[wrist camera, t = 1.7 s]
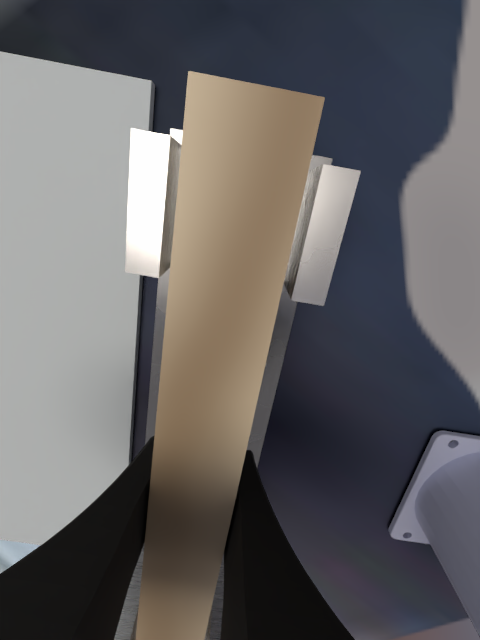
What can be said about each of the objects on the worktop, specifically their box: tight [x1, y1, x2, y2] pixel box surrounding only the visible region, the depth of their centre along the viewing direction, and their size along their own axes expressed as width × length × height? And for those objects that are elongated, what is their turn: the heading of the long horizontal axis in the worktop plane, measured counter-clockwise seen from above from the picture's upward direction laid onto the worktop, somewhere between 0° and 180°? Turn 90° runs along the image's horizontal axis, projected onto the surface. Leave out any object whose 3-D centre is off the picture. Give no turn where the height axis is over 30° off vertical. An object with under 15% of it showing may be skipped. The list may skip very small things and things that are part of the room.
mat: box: [0, 52, 155, 545], centre depth 16 cm, size 10×26×1 cm, turn 170°
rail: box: [136, 71, 325, 640], centre depth 11 cm, size 2×23×2 cm, turn 170°
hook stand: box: [114, 128, 361, 640], centre depth 13 cm, size 6×23×7 cm, turn 170°
